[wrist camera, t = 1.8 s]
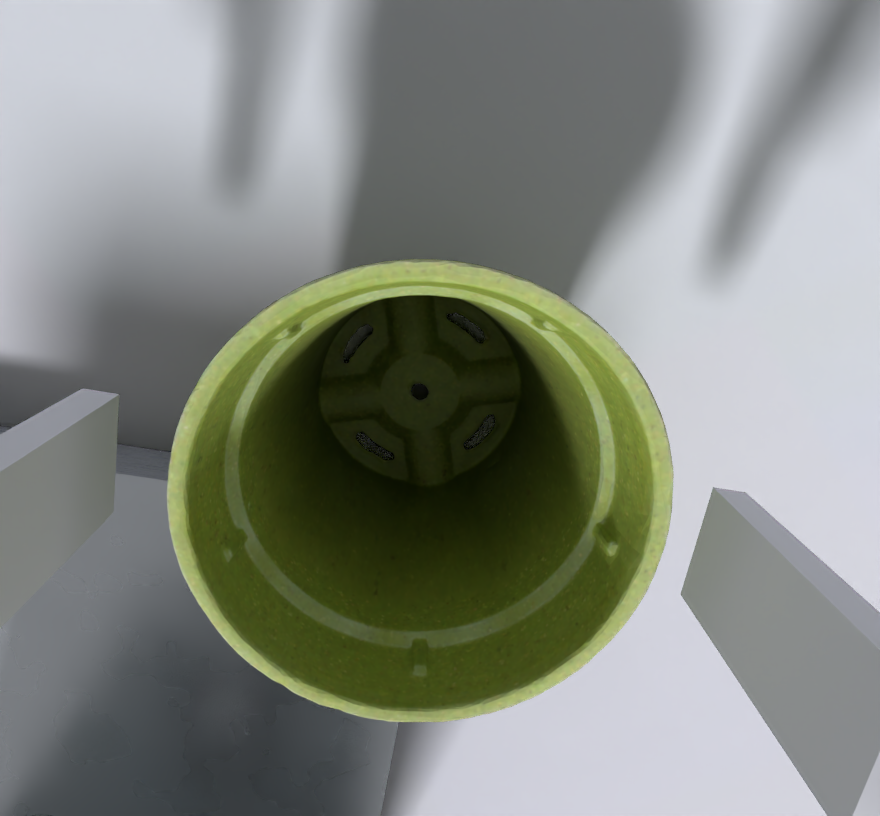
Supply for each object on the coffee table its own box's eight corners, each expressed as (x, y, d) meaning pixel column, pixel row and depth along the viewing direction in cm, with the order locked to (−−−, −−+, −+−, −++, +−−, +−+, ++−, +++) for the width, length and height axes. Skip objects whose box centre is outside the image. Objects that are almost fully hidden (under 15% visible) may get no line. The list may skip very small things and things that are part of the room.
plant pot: (641, 351, 21) (781, 459, 13) (456, 579, 23) (475, 796, 15) (381, 158, 19) (350, 139, 11) (208, 425, 21) (74, 576, 13)
